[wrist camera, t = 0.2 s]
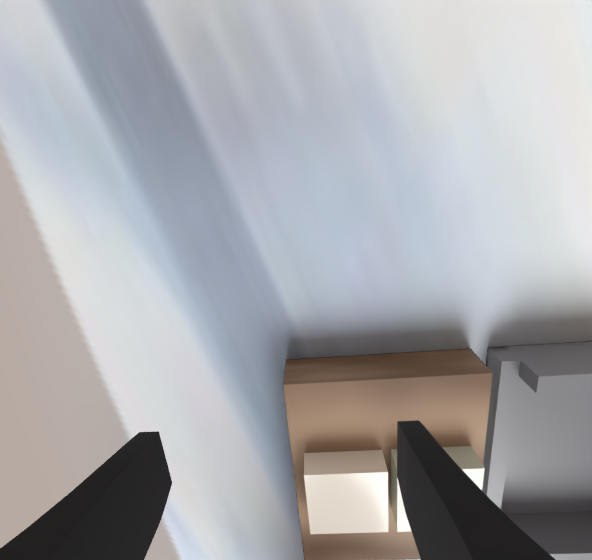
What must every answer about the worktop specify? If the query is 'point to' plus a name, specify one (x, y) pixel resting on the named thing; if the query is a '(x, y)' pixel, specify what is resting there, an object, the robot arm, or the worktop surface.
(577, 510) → the tray
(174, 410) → the worktop surface
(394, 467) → the sage tile
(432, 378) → the walnut board
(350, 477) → the cream tile
